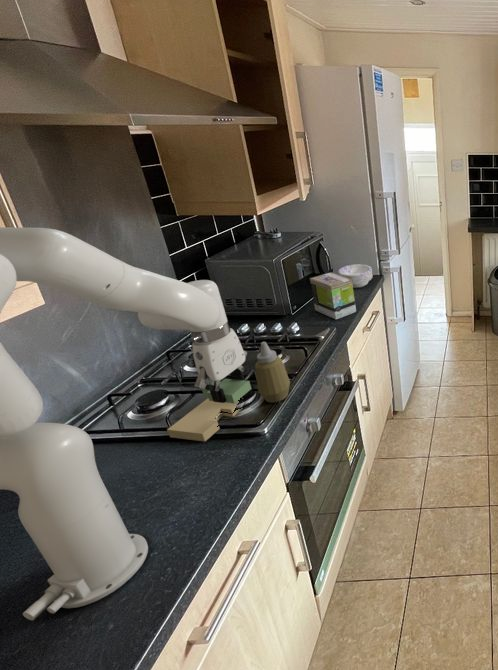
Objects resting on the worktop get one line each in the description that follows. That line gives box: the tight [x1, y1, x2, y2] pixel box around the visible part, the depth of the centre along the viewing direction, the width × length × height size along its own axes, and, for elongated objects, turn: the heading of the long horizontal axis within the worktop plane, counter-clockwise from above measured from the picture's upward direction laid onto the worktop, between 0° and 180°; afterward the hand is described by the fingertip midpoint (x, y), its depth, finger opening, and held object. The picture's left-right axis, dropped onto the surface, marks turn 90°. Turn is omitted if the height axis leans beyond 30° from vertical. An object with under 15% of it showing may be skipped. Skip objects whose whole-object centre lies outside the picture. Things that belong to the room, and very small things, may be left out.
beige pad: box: [166, 397, 244, 442], centre depth 110 cm, size 14×10×2 cm
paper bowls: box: [337, 263, 374, 289], centre depth 199 cm, size 15×15×8 cm
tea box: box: [309, 271, 357, 320], centre depth 170 cm, size 15×10×15 cm, turn 54°
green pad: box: [201, 378, 252, 403], centre depth 106 cm, size 6×10×2 cm, turn 82°
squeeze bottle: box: [254, 341, 291, 404], centre depth 117 cm, size 8×8×18 cm
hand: (230, 392), depth 106 cm, fingers closed on green pad, 6 cm apart
